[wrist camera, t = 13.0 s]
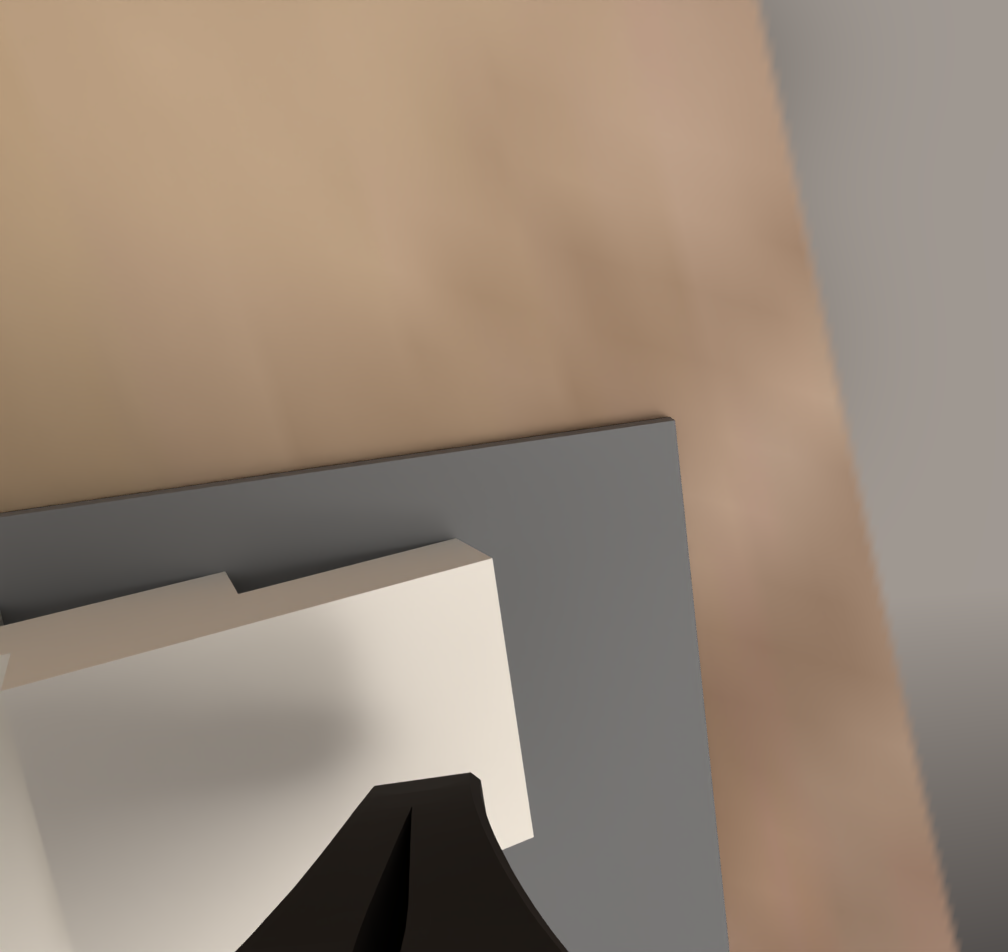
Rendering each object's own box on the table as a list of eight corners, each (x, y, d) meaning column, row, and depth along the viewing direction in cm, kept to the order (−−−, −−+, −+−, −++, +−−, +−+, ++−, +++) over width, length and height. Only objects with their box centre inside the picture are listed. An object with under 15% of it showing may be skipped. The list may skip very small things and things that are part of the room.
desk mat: (670, 417, 16) (674, 420, 15) (742, 1118, 19) (748, 1136, 18) (-562, 593, 16) (-589, 601, 15) (-287, 1258, 19) (-304, 1279, 19)
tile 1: (492, 558, 14) (0, 691, 12) (533, 837, 15) (91, 1017, 13) (455, 537, 16) (10, 652, 13) (495, 794, 17) (91, 948, 14)
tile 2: (238, 594, 14) (-312, 735, 12) (297, 869, 15) (-196, 1058, 13) (225, 571, 16) (-267, 691, 13) (278, 824, 17) (-166, 985, 14)
